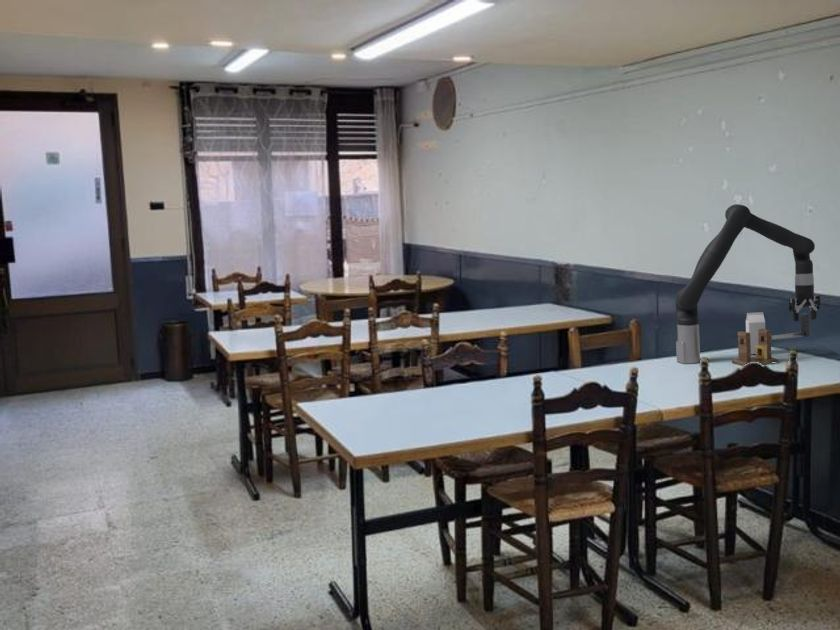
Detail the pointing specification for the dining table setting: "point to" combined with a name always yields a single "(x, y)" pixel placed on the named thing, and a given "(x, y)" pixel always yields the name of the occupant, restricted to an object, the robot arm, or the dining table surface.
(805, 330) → the grey l-shaped piece
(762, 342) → the stand
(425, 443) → the dining table surface
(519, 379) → the dining table surface
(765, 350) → the spacer
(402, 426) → the dining table surface
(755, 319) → the milk carton
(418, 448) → the dining table surface
